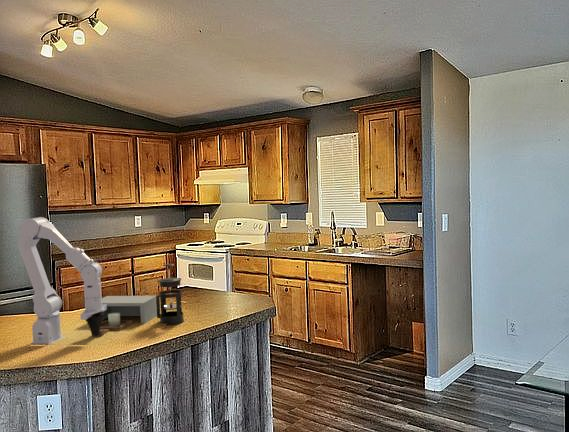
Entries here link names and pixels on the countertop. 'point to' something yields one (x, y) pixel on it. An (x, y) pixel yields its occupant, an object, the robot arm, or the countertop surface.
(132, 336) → the countertop surface
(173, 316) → the french press
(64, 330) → the countertop surface
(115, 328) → the tray
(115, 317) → the cream rounded block
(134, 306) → the large grey box
